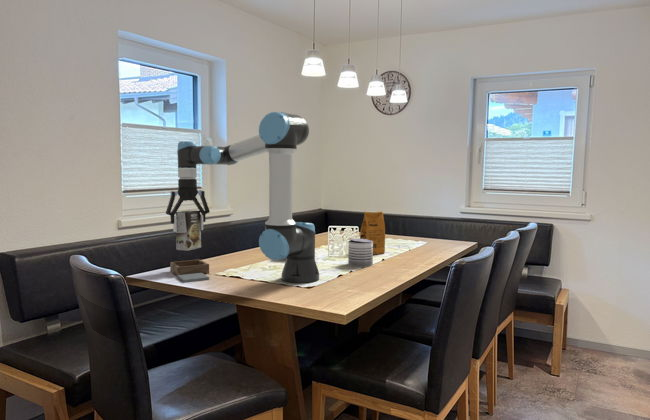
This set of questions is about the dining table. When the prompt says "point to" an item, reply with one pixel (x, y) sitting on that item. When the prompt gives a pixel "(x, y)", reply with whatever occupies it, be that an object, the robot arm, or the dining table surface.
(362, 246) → the can
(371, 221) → the coffee package
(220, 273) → the dining table surface
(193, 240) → the coffee box
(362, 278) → the dining table surface
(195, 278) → the pad
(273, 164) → the robot arm
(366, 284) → the dining table surface
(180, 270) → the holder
